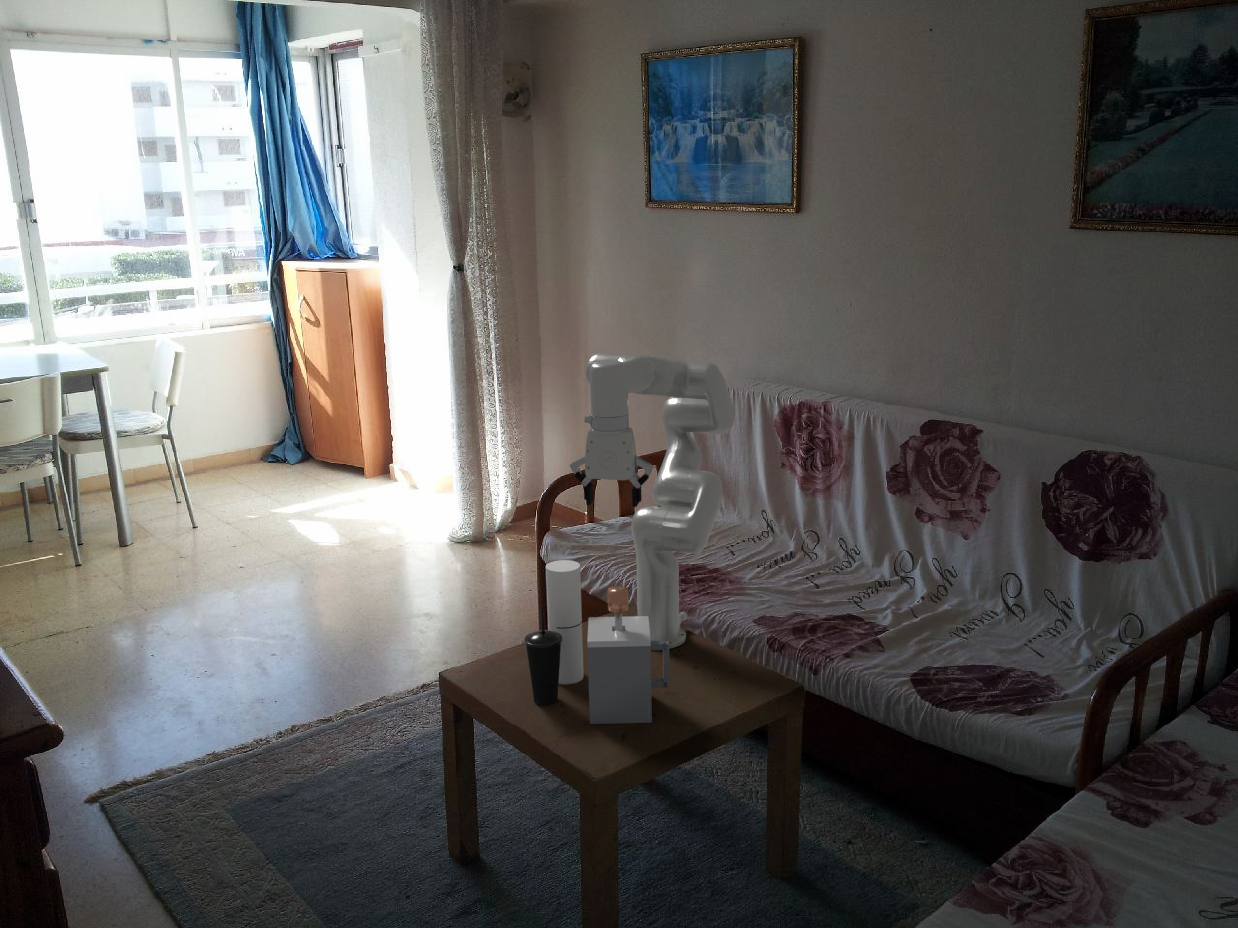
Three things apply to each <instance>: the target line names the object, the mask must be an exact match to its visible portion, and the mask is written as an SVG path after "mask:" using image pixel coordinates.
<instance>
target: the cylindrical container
mask: <svg viewBox="0 0 1238 928" xmlns="http://www.w3.org/2000/svg"><path fill="white" fill-rule="evenodd" d="M545 585H546V587H545V588H546V607H547V608H546V609H547V630H550V631H554V632H557V633H559V634H561V635H562V642H561V651H560V668H559V685H572V684H577V683H579V682H581V681H582V680H583V679H584V677H585V676H584V674H585V673H584V651H583V650H584V649H583V645H584V644H583V619H582V618H583V617H582V615H583V613H582V612H583V611H582V590H581V589H582V585H581V564H580V563H579V562H577V561H575V560H571V559H570V560H568V559H567V560H565V559H562V560H554V561H551V562H549V563H547V564H546V565H545Z"/></svg>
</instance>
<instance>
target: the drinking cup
mask: <svg viewBox="0 0 1238 928" xmlns="http://www.w3.org/2000/svg"><path fill="white" fill-rule="evenodd" d="M539 611H540V630H536V631H533V632H530V633H528V634H526V635H525V637H524V638H523V641H524V644H525V646H526V654H527V660H528V662H527V663H528V668H529V676H530V683H531V689H532V695H533V697H532V698H533V701H534V704H536V705H538V706H543V707H544V706H545V707H546V706H551V705H554V704H556V703H557V702H558V699H559V685H560V684H559V668H560V651H561V642H562V635H561V634H559V633H557V632H554V631H550V630H548V629H546V628H545V626H546V625H545V608H544V607H540V610H539Z"/></svg>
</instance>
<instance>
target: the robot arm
mask: <svg viewBox="0 0 1238 928" xmlns="http://www.w3.org/2000/svg"><path fill="white" fill-rule="evenodd" d="M585 377H586V380H587V382H588V384H589V395H590V415H589V416H584V418H583V419H584V420H583V422H584V424H589V426H590V428H589V429H588V430H587V433H586V438H585V439H586V440H585V450H584V452H585V453H584V456H583V457H581V458H579V459H576V460H575V461H572V463H570V465H569V468H570V470H571V471H572V472H573V473H572V474H574V477H575V478H576V480H578V482H580V483H581V485H582V487H583V498H584V501H586V505H587V506H590V505H591V504H593V502H594V500H595V499H594V498H595V496H594V495H595V494H594V492H595V491H594V483H593V481H592V480H608V481H609V480H611V481H629V482H630V483H631V484H632V485H633V487H632V489H631V495H632V497H631V499H632V501H631V502H632V507H633V508H637V507H638V505H639V503H641V502H642V485H644V484H645V483H646V482H647V481H648V480H649V478H650V476H651V474H652V473H653V470H654V468H655V466H654V465H653V464H652V463H650V462H648V461H647V460H644V459H643V458H641V457H639V456H637V455H638V454H637V447H636V440H635V435H634V431H633V429H632V427H630V424H629V423H630V417H629V416H630V415H629V411H630V410H629V394H637V395H641V396H653V397H663V398H668V399H666V401H665V402H664V404H663V407H662V421H663V428H664V433H665V434H664V435H665V440H666V451H665V454H664V458H663V461H662V463H661V466H660V468H659V471H658V473H657V474H656V475H657V476H656V477H655V481H654V484H653V487H652V499H653V501H654V503H655V504H656V505H647V506H642V507H641V508H639V509H638V510H636V511H635V513H634V514H633V516H632V519H631V534H632V541H633V545H634V549H635V557H636V562H635V563H636V599H637V601H636V602H637V603H636V606H637V607H636V608H637V616H648V618H649V629H650V640H651V641H669V650H670V649H675V648H677V647H679V646H681V645H683V644H684V643H685V641H686V640H687V633H686V631H685V630H683V629H682V628H681V623H683V621H685V620H687V619H688V614H687V612H685V611H681V612H680V597H679V595H680V594H679V592H680V591H679V590H680V588H679V587H680V586H679V583H680V580H679V577H680V575H679V574H680V570H679V563H678V560H677V558H676V555H674V552H675V553H681V554H690V555H691V554H692V555H693V554H699V553H701V552H702V551H703V550H704V549H705V547H706V545H707V544H708V540H709V539H710V536H711V532H712V530H713V527H714V524H715V521H716V519H717V516H718V513H719V510H720V507H721V504H722V500H723V499H722V498H723V483H722V480H721V478H720V476H719V475H717V474H716V473H714V472H712V471H708V470H702V469H700V467H701V465H702V460H703V456H702V455H703V454H702V451H701V449H700V446H699V445H698V444H697V442H696V441H695V439H694V438H693V436H692V434H691V433H695V434H707V435H717V436H720V435H724V434H727V433H729V431H730V430H731V429H732V428H733V426H734V422H735V409H734V405H733V401H732V398H731V396H730V395H731V394H730V391H729V389H728V386H727V383H726V380H725V378H724V375H723V373H722V371H721V369H720V368H719V367H718V365H716V364H715V363H713V362H710V361H699V360H698V361H695V360H683V359H682V360H681V359H675V358H674V359H673V358H666V357H662V356H653V355H652V356H649V355H648V356H646V355H645V356H644V355H641V354H640V355H639V354H627V353H610V352H609V353H608V352H606V353H605V352H598V353H595V354H594V355H592V356H591V357H590V358H589V360H588V361H587V363H586V365H585ZM583 465H584V472H585V473H584V472H583V471H582V470H581V466H583ZM638 467H640V468H641V469H643V470H644V473H643V475H642V476H640V475H639V474H638V473H637V472H638Z"/></svg>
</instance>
